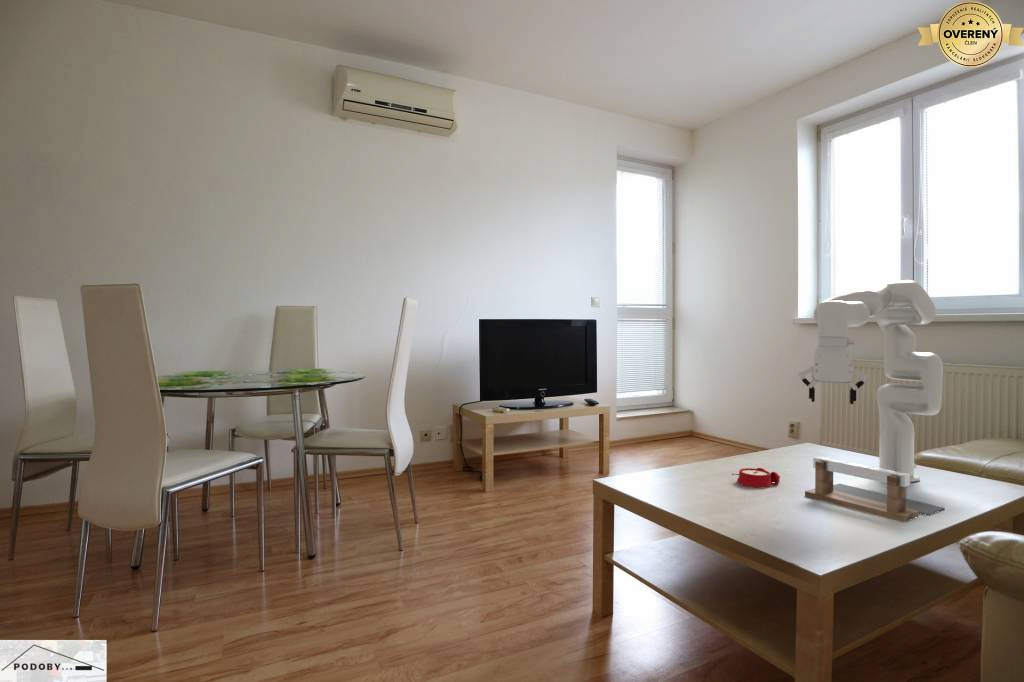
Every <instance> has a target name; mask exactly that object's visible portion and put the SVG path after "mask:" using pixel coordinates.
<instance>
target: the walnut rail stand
mask: <svg viewBox="0 0 1024 682" xmlns="http://www.w3.org/2000/svg"><path fill="white" fill-rule="evenodd" d="M814 469H815V471H814V472H815V474H814V475H815V477H814V479H815V481H814V488H812V489H811V488H810V489H809V490H805V491H804V496H805V497H806V496H807V498H810V497H811V499H814V498H815V500H818V501H821V500H822V502H825V501H826V503H829V504H832V505H833V504H834V505H837V506H840V507H845V508H848V509H853V510H856V511H860V512H863V513H868V514H870V515H871V514H872V515H876V516H879V517H883V518H887V519H890V520H894V521H897V522H901V521H902V523H906V522H909V521H911V520H910V519H912V520H914V519H916V518H915V517H917V518H919V517H918V516H920V514H919V511H916V510H912V509H908V508H906V499H907V487H902V486H897V477H895V476H890V475H888V476H887V483H886V494H887V503H883V502H879V501H875V500H871V499H867V498H862V497H858V496H854V495H850V494H846V493H842V492H838V491H834V490H833V485H834V472H832V471H827V470H824V462H821V461H815V468H814ZM913 518H914V519H913ZM908 520H909V521H908ZM905 521H906V522H905Z"/></svg>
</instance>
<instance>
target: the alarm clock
mask: <svg viewBox="0 0 1024 682" xmlns="http://www.w3.org/2000/svg"><path fill="white" fill-rule="evenodd" d="M731 475H732V476H733V475H734V476H738V477H737V480H736V482H737V483H738V482H739V483H740V484H739V483H738V484H739V485H741V484H743V485H742V486H745V485H746V487H749V486H751V487H750V488H757V487H767V488H771V487H772V486H773V483H772V482H775V483H776V484H775V486H777V485H779V483H780V478H781V476H780V475H779V473H778V472H776V471H771V472H769V471H768V470H766V469H764V468H762V467H757V468H751V467H749V468H741V469H739V471H738V473H731ZM770 486H771V487H770Z"/></svg>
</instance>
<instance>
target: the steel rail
mask: <svg viewBox="0 0 1024 682" xmlns="http://www.w3.org/2000/svg"><path fill="white" fill-rule="evenodd" d="M815 461H821V462H824V470H827V471H832V472H833V473H837V474H842V475H847V476H852V477H855V478H861V479H864V480H865V479H866V480H871V481H875V482H879V483H883V484H887V476H888V475H890V476H895V477H897V486H902V487H906V488H907V487H909V486H911V482H910V474H907V473H902V472H897V471H892V470H887V469H881V468H879V467H875V466H870V465H867V464H866V465H865V464H860V463H856V462H849V461H844V460H839V459H835V458H834V459H833V458H830V457H825V456H824V457H823V456H820V455H818V456H815V457H813V458H812V468H814V469H815Z"/></svg>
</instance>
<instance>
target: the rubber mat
mask: <svg viewBox="0 0 1024 682" xmlns="http://www.w3.org/2000/svg"><path fill="white" fill-rule="evenodd" d="M833 490H834V491H838V492H842V493H846V494H850V495H854V496H858V497H862V498H867V499H871V500H875V501H879V502H883V503H887V493H884V492H883V493H882V492H879V491H873V490H870V489H869V490H868V489H865V488H860V487H857V486H852V485H847V484H844V483H836V484H833ZM906 508H908V509H912V510H916V511H919V513H921V514H920V515H923V514H926V515H925V516H927V515H929V516H931V515H930V514H932V513H934V514H936V513H935V512H937V511H940V510H942V509H945V507H943V506H939V505H935V504H929V503H926V502H923V501H917V500H913V499H909V498H906ZM942 511H943V510H942ZM940 512H941V511H940ZM937 513H938V512H937ZM932 515H933V514H932Z"/></svg>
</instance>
